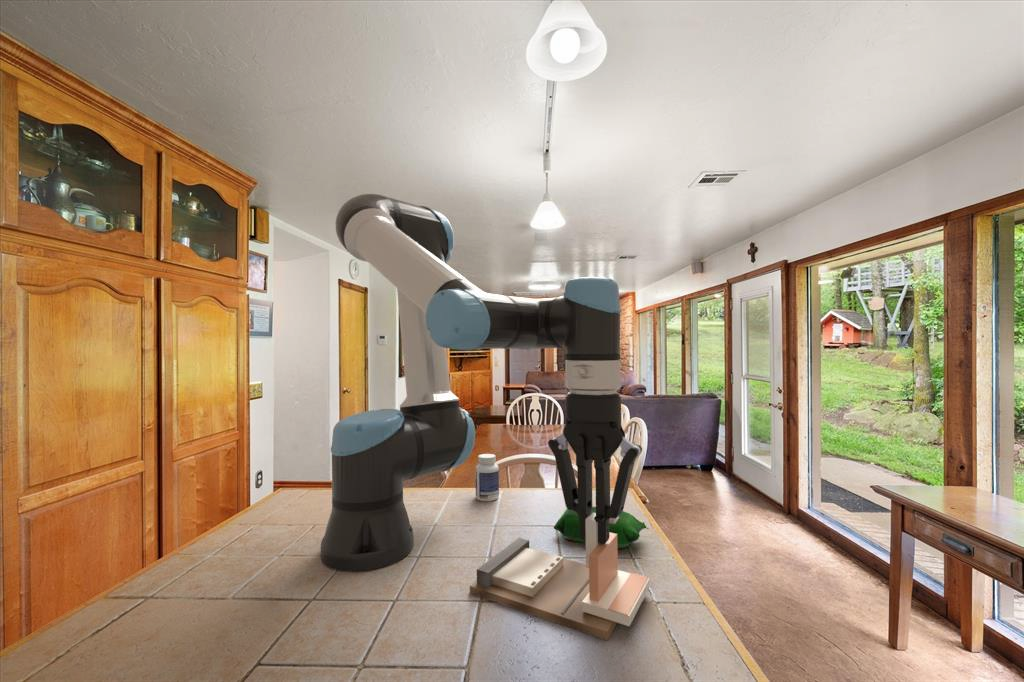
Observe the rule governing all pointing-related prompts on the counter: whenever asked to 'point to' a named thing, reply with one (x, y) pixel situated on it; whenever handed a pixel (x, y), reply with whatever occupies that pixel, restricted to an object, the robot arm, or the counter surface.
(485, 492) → the pill bottle
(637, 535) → the snack package
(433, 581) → the counter surface
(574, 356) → the robot arm
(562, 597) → the wooden base board
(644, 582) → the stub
